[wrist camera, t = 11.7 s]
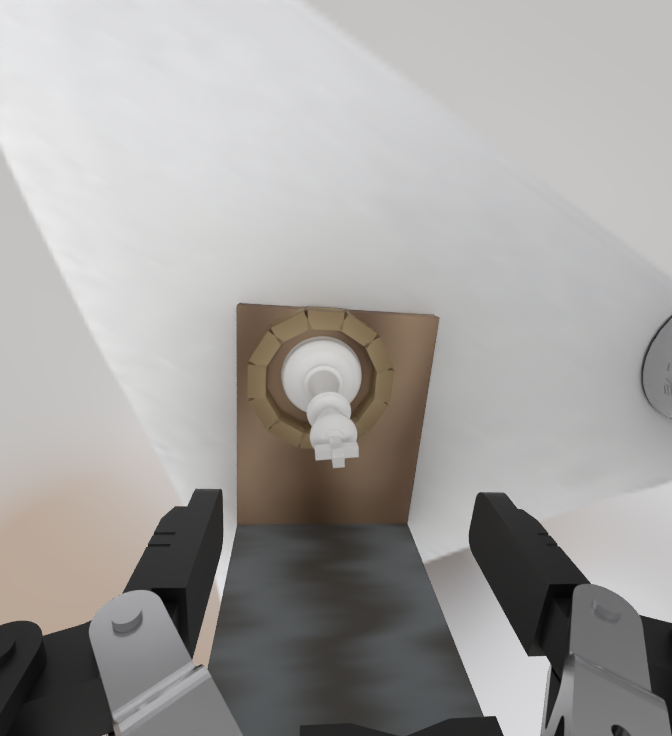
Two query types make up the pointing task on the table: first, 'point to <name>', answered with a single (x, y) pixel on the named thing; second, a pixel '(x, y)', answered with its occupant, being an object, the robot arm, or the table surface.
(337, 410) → the chess piece
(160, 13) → the table surface
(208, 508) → the robot arm
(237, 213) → the table surface
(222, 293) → the table surface
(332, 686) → the base
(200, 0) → the table surface
